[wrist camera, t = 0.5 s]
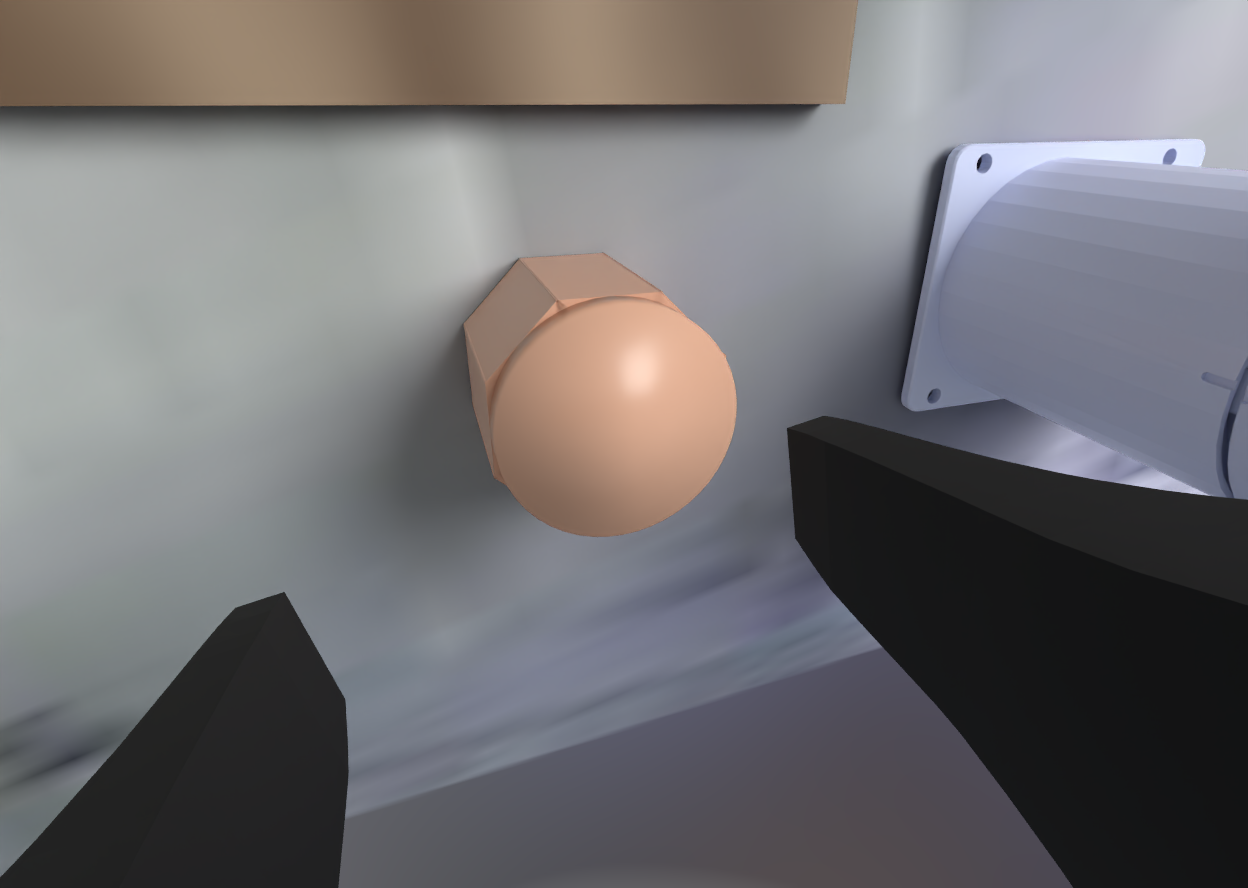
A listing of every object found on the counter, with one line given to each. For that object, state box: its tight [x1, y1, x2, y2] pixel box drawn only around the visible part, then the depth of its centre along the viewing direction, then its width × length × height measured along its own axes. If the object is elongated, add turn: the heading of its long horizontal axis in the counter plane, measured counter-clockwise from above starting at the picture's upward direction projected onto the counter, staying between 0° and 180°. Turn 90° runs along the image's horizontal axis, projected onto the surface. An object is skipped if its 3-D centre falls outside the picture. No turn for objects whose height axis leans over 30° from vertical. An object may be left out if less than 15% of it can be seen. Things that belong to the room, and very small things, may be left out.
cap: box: [463, 253, 737, 537], centre depth 16 cm, size 5×5×5 cm
